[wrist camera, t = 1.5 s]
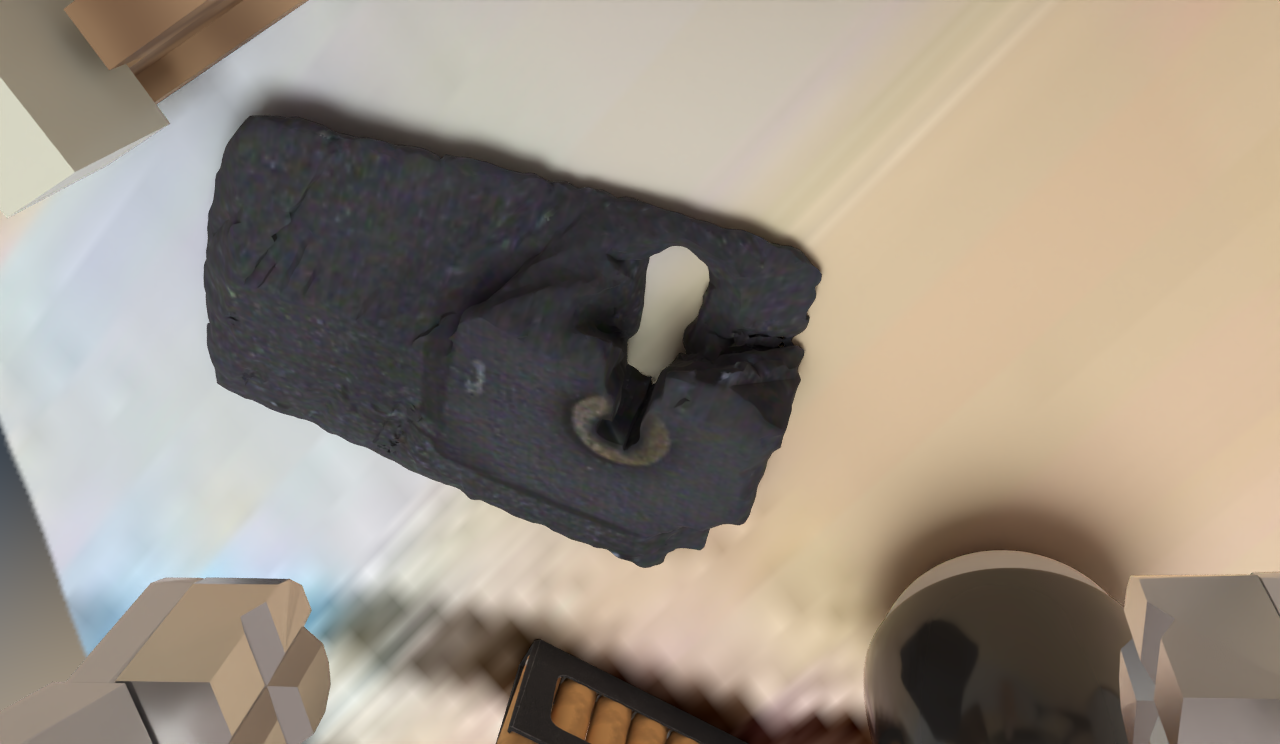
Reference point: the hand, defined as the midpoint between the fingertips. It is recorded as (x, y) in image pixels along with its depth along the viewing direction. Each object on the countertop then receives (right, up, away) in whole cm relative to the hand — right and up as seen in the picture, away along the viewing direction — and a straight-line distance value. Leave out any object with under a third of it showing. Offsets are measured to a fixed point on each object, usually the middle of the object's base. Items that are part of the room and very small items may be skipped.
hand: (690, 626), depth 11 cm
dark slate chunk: (-6, +4, +31) cm, 31 cm away
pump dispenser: (+13, -7, +33) cm, 36 cm away
